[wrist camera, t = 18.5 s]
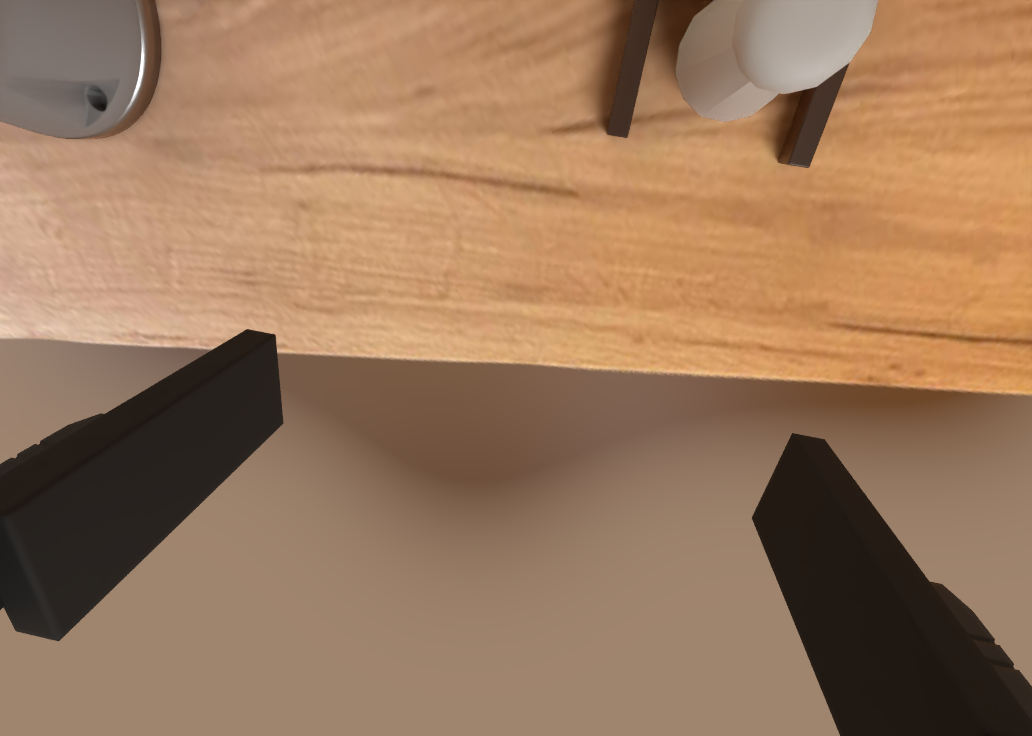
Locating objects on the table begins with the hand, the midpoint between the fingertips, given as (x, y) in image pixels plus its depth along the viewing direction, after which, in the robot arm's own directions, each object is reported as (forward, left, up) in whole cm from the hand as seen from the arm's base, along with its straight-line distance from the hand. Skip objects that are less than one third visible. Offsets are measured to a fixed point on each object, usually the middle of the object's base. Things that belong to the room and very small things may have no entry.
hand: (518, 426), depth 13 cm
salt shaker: (+7, +11, -23) cm, 27 cm away
